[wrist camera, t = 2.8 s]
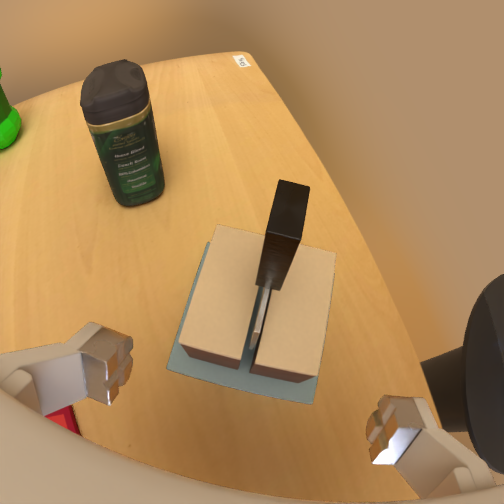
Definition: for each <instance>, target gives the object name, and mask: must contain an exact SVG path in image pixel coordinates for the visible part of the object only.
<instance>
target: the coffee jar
mask: <svg viewBox="0 0 504 504" xmlns="http://www.w3.org/2000/svg"><path fill="white" fill-rule="evenodd" d="M80 106H81V107H82V110H83V114H84V118H85V120H86V123H87V125H88V128H89V131H90V133H91V136H92V139H93V141H94V144H95V147H96V150H97V152H98V155H99V158H100V161H101V163H102V166H103V168H104V171H105V174H106V176H107V179H108V182H109V184H110V187H111V190H112V192H113V195H114V197H115V199H116V201H117V202H118V203H120V204H121V205H125V206H133V205H139V204H143V203H146V202H149V201H151V200H153V199H155V198H156V197H158V196H159V195H160V194H161V193H162V191H163V189H164V185H165V184H164V174H163V169H162V163H161V158H160V153H159V147H158V141H157V134H156V128H155V122H154V117H153V111H152V106H151V101H150V96H149V90H148V87H147V81H146V77H145V74H144V72H143V69H142V68H141V67H140V66H139V65H138V64H136V63H133V62H130V61H127V60H125V59H124V60H119V61H115V62H111V63H108V64H105V65H102V66H98V67H96V68H95V69H94V70H93V71H92V72H91V73H90V74H89V76H88V77H87V78H86V79H85V81H84V83H83V85H82V90H81V100H80Z"/></svg>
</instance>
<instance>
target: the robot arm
mask: <svg viewBox="0 0 504 504" xmlns="http://www.w3.org/2000/svg"><path fill="white" fill-rule="evenodd" d="M132 349H133V339H132V337H131V336H128V335H125V334H123V333H120V332H118V331H115V330H112V329H110V328H107V327H104V326H102V325H99V324H97V323H94V322H89V323H87V324H86V325H85V326H84V327H83V328H82V329H80V330H79V331H78V332H77V333H76V334H75V335H74V336H72V337H71V338H70V339H69V340H68V341H67V342H66V343H64V344H62V343H55V344H50V345H45V346H40V347H35V348H30V349H25V350H20V351H14V352H9V353H3V354H0V504H504V484H502V485H498V486H497V485H496V483H495V481H494V479H493V476H492V474H491V472H490V470H489V468H488V465H487V463H486V462H485V461H483V460H482V459H481V458H479V457H478V456H477V455H476V454H474V453H472V452H471V451H470V450H469V449H468V448H466V447H465V446H464V445H462V444H461V443H460V442H459V441H457V440H456V439H455V438H453V437H452V436H451V435H450V434H448V433H447V432H446V431H445V430H443V429H439V428H438V426H437V423H436V421H435V419H434V417H433V415H432V412H431V410H430V408H429V406H428V404H427V402H426V400H425V399H424V398H423V397H401V396H391V395H384V396H383V397H382V398H381V399H380V400H379V402H378V407H379V409H378V410H376V411H375V412H373V413H372V414H371V416H370V418H369V420H368V422H367V426H366V437H367V440H368V441H369V442H370V443H371V444H372V445H371V447H370V448H369V452H370V457H371V462H372V464H384V465H394V467H395V468H396V469H397V470H398V472H399V473H400V474H401V475H402V476H403V478H404V479H405V480H406V481H407V483H408V484H409V485H410V486H411V487H412V489H413V490H414V491H415V492H416V493H417V495H418V496H419V497H420V498H421V499H417V500H406V501H390V502H333V501H317V500H305V499H295V498H286V497H279V496H272V495H265V494H259V493H253V492H248V491H242V490H237V489H233V488H228V487H223V486H219V485H215V484H211V483H207V482H203V481H199V480H196V479H192V478H188V477H185V476H182V475H178V474H175V473H172V472H169V471H166V470H162V469H159V468H157V467H154V466H151V465H148V464H145V463H142V462H140V461H137V460H134V459H132V458H129V457H127V456H124V455H122V454H119V453H117V452H115V451H112V450H110V449H108V448H105V447H103V446H101V445H99V444H96V443H94V442H92V441H90V440H88V439H86V438H84V437H82V436H80V435H78V434H76V433H74V432H72V431H70V430H68V429H66V428H64V427H62V426H60V425H59V424H57V423H55V422H53V421H51V420H50V419H48V418H46V417H44V416H45V415H48V414H50V413H52V412H55V411H57V410H59V409H62V408H64V407H66V406H69V405H71V404H73V403H76V402H78V401H80V400H82V399H85V398H86V396H87V397H89V398H92V399H94V400H96V401H99V402H101V403H104V404H106V405H109V406H110V405H111V404H112V402H113V401H114V399H115V398H116V397H117V395H118V394H119V387H120V386H123V385H125V384H126V382H127V381H128V379H129V377H130V374H131V371H132V366H133V358H132V357H131V355H130V353H129V352H130V351H131V350H132Z"/></svg>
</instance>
